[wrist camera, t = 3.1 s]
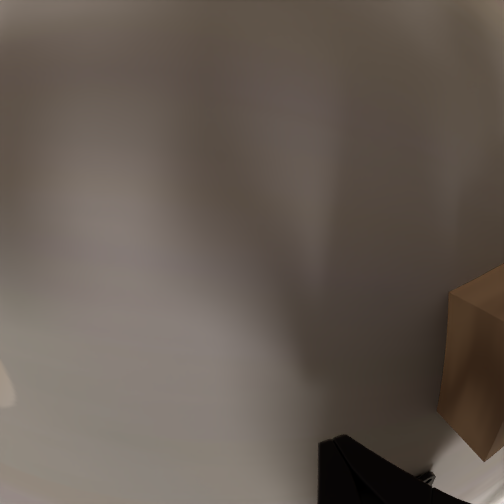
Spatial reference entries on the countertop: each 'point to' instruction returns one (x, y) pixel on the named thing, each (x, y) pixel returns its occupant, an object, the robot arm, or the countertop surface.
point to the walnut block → (475, 363)
